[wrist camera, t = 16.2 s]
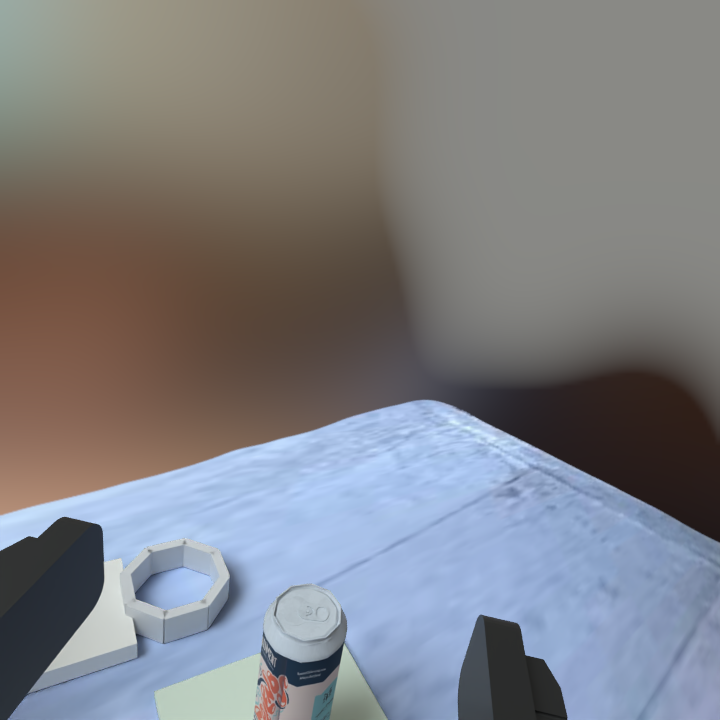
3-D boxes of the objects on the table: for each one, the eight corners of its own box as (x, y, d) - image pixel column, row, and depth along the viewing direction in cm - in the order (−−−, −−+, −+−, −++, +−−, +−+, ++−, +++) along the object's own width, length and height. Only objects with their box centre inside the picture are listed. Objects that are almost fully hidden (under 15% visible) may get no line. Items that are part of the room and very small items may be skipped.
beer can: (257, 707, 36) (272, 573, 31) (325, 715, 36) (350, 583, 32) (241, 786, 31) (257, 642, 27) (320, 794, 31) (348, 653, 27)
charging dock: (209, 549, 49) (210, 528, 48) (238, 624, 42) (240, 601, 41) (-86, 622, 38) (-92, 597, 37) (-114, 740, 31) (-122, 712, 30)
